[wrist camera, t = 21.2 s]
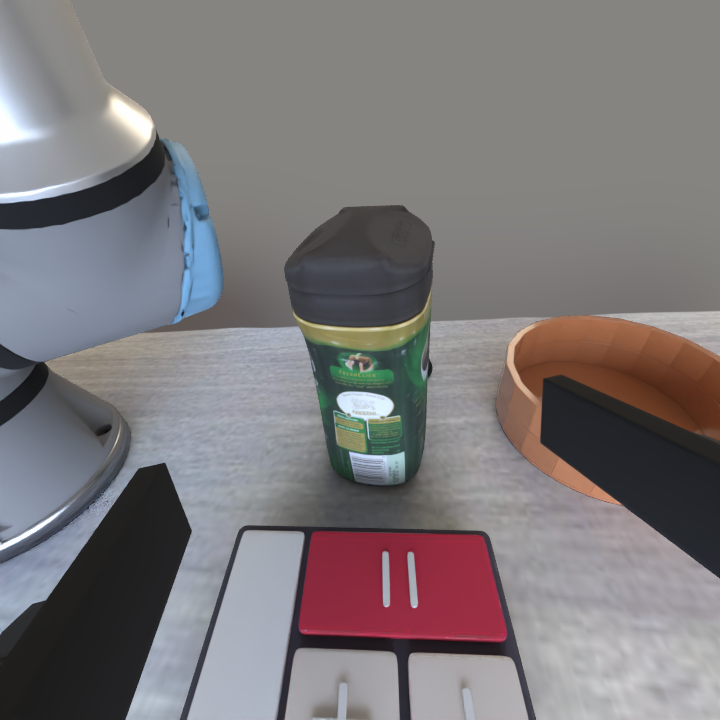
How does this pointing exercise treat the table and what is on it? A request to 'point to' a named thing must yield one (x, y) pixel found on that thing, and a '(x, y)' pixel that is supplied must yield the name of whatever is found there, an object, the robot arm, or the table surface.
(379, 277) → the coffee jar
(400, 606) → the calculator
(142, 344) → the table surface
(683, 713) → the table surface
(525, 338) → the pot
